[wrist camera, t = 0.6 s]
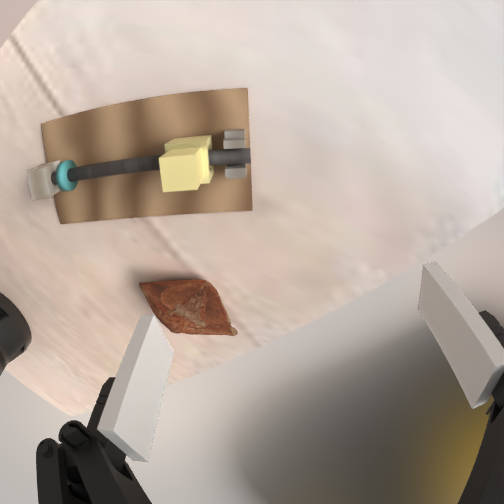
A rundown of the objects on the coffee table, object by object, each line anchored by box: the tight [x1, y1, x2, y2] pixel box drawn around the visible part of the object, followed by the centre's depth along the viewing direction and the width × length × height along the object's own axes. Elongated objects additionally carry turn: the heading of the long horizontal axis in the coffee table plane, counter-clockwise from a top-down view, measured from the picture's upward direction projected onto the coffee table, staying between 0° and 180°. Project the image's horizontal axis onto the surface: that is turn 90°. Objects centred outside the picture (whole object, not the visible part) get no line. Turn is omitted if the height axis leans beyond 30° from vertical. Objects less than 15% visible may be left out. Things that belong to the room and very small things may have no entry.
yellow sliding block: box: [159, 135, 214, 192], centre depth 28 cm, size 4×4×8 cm
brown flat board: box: [26, 88, 252, 224], centre depth 30 cm, size 26×14×5 cm, turn 92°
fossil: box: [139, 279, 238, 336], centre depth 39 cm, size 13×8×10 cm
